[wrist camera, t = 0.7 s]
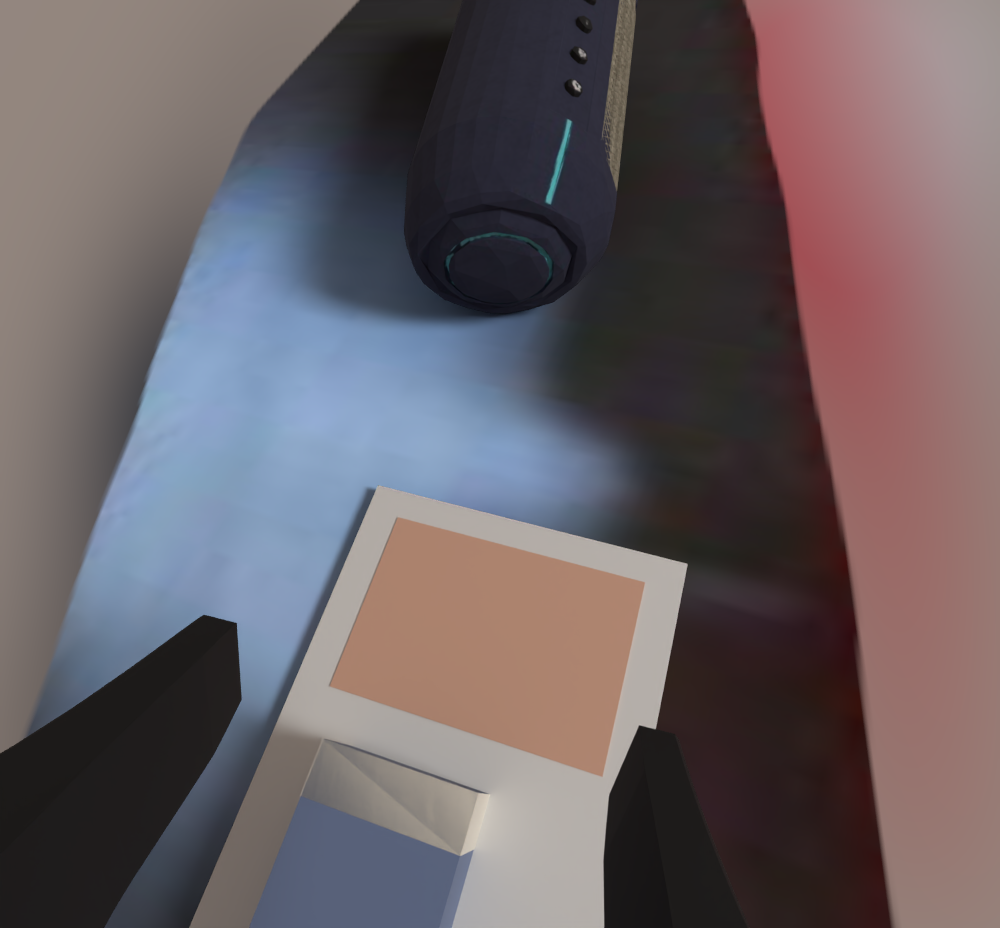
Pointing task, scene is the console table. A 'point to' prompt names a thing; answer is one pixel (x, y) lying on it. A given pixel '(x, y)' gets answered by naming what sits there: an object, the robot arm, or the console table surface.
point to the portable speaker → (521, 151)
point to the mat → (474, 699)
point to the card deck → (372, 846)
